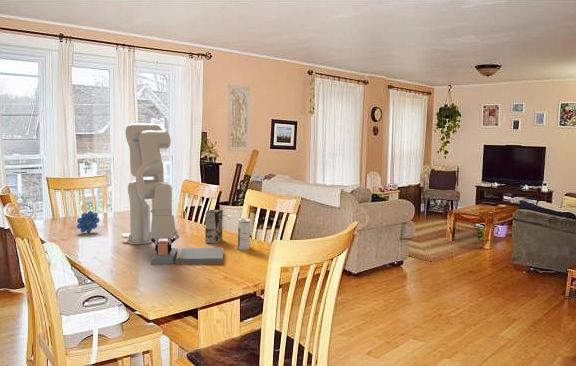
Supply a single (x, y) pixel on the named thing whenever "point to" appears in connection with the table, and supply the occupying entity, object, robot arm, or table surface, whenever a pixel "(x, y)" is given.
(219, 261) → the board
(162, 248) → the stub
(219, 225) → the coffee box
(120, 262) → the table surface
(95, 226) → the grapes
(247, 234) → the syrup box
